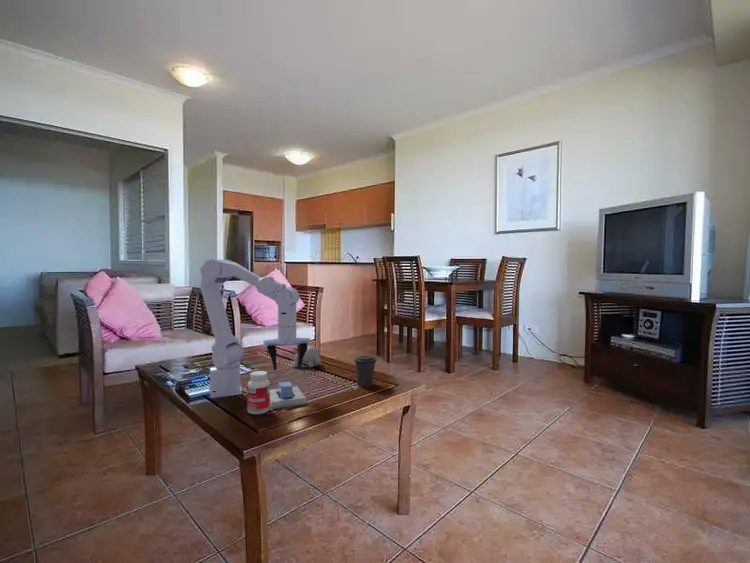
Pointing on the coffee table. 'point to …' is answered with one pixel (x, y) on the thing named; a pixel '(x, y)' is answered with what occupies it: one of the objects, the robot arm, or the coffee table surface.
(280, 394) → the block
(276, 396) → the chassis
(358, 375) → the coffee cup
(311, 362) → the round bodied animal figurine
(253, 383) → the pill bottle
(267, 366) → the coffee table surface
